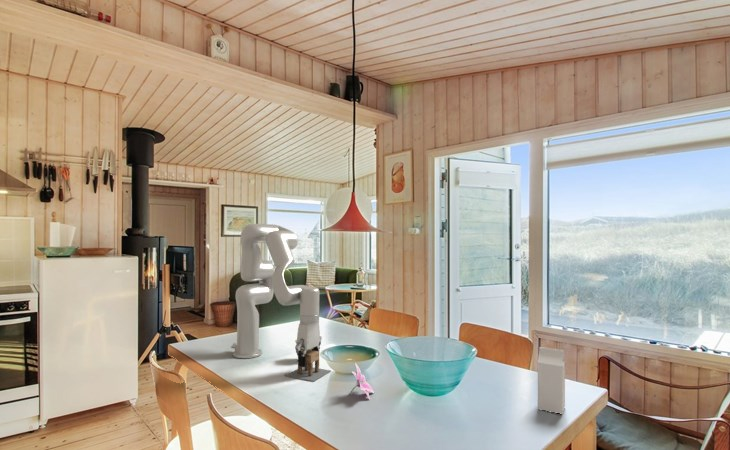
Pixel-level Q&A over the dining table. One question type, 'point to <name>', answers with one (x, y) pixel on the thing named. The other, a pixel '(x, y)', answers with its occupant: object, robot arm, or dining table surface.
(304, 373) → the mat
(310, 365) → the stool
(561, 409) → the milk carton
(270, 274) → the robot arm
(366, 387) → the lily
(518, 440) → the dining table surface
